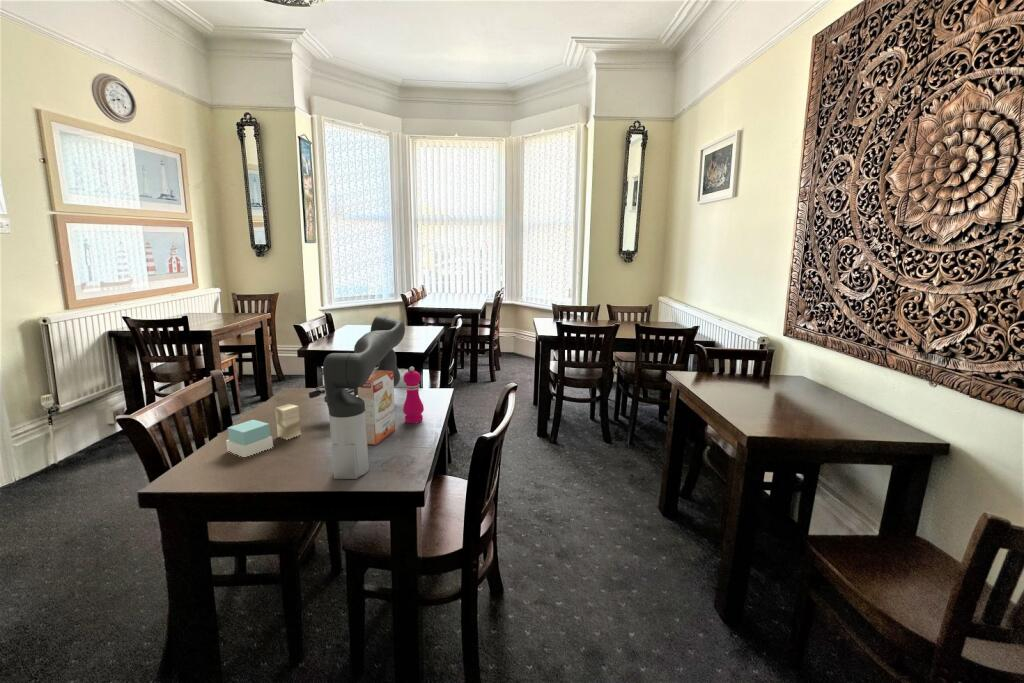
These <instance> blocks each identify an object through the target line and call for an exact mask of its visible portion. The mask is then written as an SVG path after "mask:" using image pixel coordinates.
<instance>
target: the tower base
mask: <svg viewBox="0 0 1024 683" xmlns="http://www.w3.org/2000/svg"><path fill="white" fill-rule="evenodd" d="M225 442H226V448H227V449H226V451H227V452H228V451H230V452H232V453H234V454H233V455H235V454H237V455H239V456H238V457H240V456H242V457H247V456H249V457H251V456H250V455H252V456H254V455H253V454H255V455H257V454H260V453H262V452H261V451H263V452H265V451H264V450H266V451H268V450H271V449H273V448H274V443H273V436H272V435H270V436H269V437H267V438H264V439H261V440H258V441H256V442H253V443H250V444H247V445H242V444H239V443H236V442H233V441H230V440H229V439H226V441H225ZM272 447H273V448H272ZM270 448H271V449H270ZM267 449H268V450H267ZM230 452H229V453H230ZM259 452H260V453H259ZM232 453H231V454H232ZM256 453H257V454H256ZM237 455H236V456H237ZM242 457H241V458H242ZM247 458H248V457H247Z"/></svg>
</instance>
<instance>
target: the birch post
mask: <svg viewBox="0 0 1024 683" xmlns="http://www.w3.org/2000/svg"><path fill="white" fill-rule="evenodd" d="M299 409H300V407H299V405H296V404H291V403H287V404H283V405H280V406H277V407H275V408H274V413H275V421H276V423H275V424H276V431H277V437H278V438H279V437H281V438H280V439H282V438H283V440H285V439H286V441H288V439H289V440H291V438H292V439H294V438H293V437H295V438H296V436H297V437H300V436H302V432H301V431H302V430H301V429H302V428H301V418H300V417H301V416H300V410H299ZM299 435H300V436H299Z"/></svg>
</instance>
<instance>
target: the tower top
mask: <svg viewBox="0 0 1024 683" xmlns="http://www.w3.org/2000/svg"><path fill="white" fill-rule="evenodd" d="M227 433H228V434H227V435H228V440H230V441H233V442H236V443H239V444H242V445H247V444H250V443H253V442H256V441H258V440H261V439H264V438H267V437H269V436H271V429H270V423H267V422H264V421H260V420H256V419H250V420H248V421H244V422H241V423H238V424H235V425H231V426H229V427H227Z"/></svg>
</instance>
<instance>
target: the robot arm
mask: <svg viewBox="0 0 1024 683" xmlns="http://www.w3.org/2000/svg"><path fill="white" fill-rule="evenodd" d="M370 326H371V327H370V330H369V331H368V332H366V333H365V334H363V335H362V336H361V337H360V338H359V339H358V340H357V341H356V343H355V344H354V347H353V352H342V353H341V352H332V353H329V354H327V355H326V356H325V357H324V361H323V365H322V375H323V376H322V377H323V384H324V385H320V386H318V387H317V386H316V387H315V390H312V391H309V392H308V397H309V399H314V398H317V397H320V396H324V398H323V399H324V403H326V405H327V409H328V418H329V432H330V433H329V434H330V444H331V445H330V446H331V456H332V457H331V458H332V469H333V471H332V472H333V479H335V480H346V479H347V480H357V479H358V478H359V477H362V476H363V475H366V474H367V473H368V472H369V469H370V466H369V452H368V451H369V449H368V444H367V432H366V415H365V402H364V400H363V399H361V398H359V397H358V387H361V386H363V385H364V384H365V383H366V382H367V381H368V379H369V377H370V375H371V374H372V373H374V372H376V371H378V370H384V371H393V377H394V388H395V387H397V386H398V384H399V383H400V381H401V374H400V371H399V368H398V366H397V361H398V360H397V355H396V352H395V350H394V348H396V347H398V345H399V344H400V343H401V342H402V340H403V338H404V336H405V333H406V326H405V324H404V322H403V321H402V320H399V319H397V318H393V317H388V316H385V315H377V316H376V317H374V318H373V320H372V322H371V325H370Z"/></svg>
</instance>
